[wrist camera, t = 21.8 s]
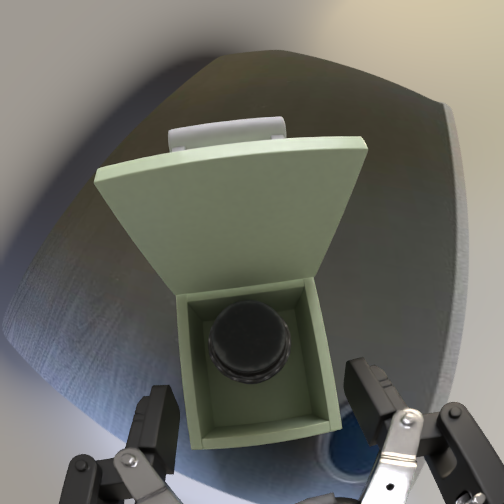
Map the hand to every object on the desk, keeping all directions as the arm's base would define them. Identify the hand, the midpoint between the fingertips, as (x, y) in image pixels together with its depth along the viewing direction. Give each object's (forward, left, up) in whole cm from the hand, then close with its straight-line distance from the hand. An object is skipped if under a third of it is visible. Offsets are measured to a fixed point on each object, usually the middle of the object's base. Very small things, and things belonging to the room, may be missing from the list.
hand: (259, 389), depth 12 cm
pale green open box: (+1, +1, -16) cm, 16 cm away
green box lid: (+6, +6, -1) cm, 8 cm away
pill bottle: (+2, +3, -16) cm, 16 cm away
